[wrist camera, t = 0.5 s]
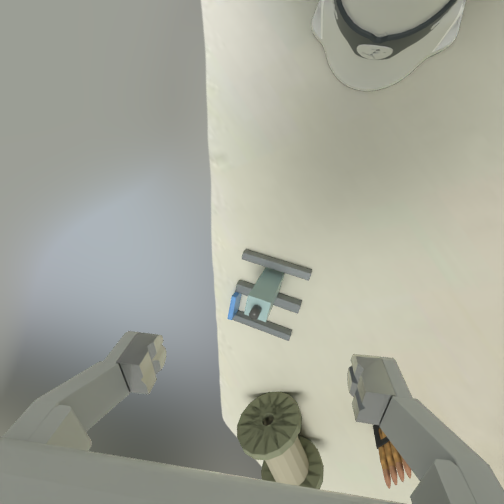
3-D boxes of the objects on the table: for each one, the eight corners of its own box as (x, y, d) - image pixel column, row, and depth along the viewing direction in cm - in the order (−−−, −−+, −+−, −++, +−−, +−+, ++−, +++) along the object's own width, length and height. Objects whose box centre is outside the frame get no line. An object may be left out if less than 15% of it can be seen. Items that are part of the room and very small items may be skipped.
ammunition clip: (379, 430, 57) (389, 493, 47) (372, 425, 57) (381, 487, 47) (414, 407, 53) (434, 471, 42) (406, 402, 53) (424, 465, 42)
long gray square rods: (246, 249, 52) (239, 256, 48) (311, 269, 49) (310, 278, 45) (233, 313, 59) (226, 324, 55) (290, 335, 56) (287, 347, 52)
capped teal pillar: (266, 266, 52) (244, 301, 39) (284, 272, 51) (268, 309, 38) (262, 283, 53) (239, 320, 41) (279, 289, 53) (262, 329, 40)
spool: (249, 393, 66) (227, 452, 53) (302, 390, 60) (293, 456, 47) (271, 439, 70) (256, 505, 56) (324, 440, 64) (321, 515, 50)
